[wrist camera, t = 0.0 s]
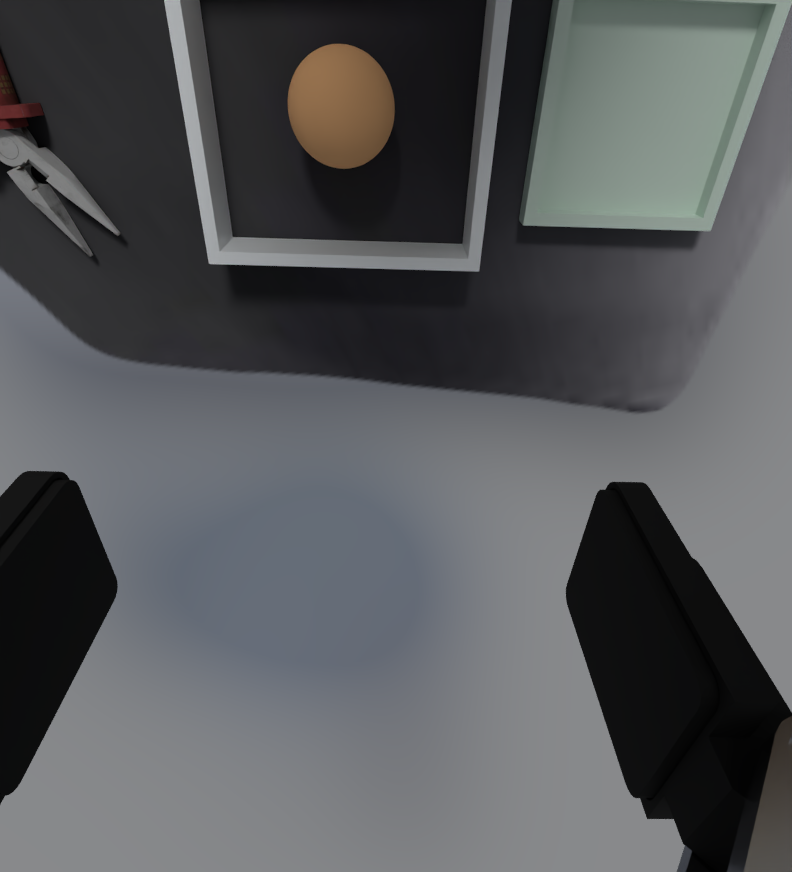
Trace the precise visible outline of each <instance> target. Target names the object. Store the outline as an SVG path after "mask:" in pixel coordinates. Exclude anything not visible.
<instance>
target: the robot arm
mask: <svg viewBox="0 0 792 872" xmlns="http://www.w3.org/2000/svg"><path fill="white" fill-rule="evenodd" d="M116 593H117V579H116V576H115V574H114V571H113V569H112V566H111V564H110V562H109V559H108V557H107V554H106V552H105V549H104V547H103V544H102V542H101V540H100V537H99V535H98V532H97V530H96V527H95V525H94V522H93V520H92V517H91V515H90V513H89V510H88V508H87V505H86V503H85V500H84V498H83V495H82V493H81V490H80V488H79V486H78V484H77V483H76V482H75V481H73V480H69V478H68V476H67V475H66V474H65V473H63V472H47V471H45V472H44V471H27V472H24V473H22V474H21V475H20V476H19V477H18V478H17V479H16V480H15V481H14V482H13V483H12V484H11V486H9V488H8V489H7V490H6V491H5V492H4V493H3V494H2V495H1V497H0V804H1V802H2V800H3V798H4V796H5V795H9V794H10V793H12V792H13V791H14V790H15V789H16V788H17V787H18V785H19V784H20V782H21V780H22V778H23V776H24V774H25V773H26V771H27V769H28V767H29V765H30V763H31V761H32V759H33V757H34V755H35V753H36V751H37V749H38V747H39V745H40V744H41V741H42V740H43V738H44V736H45V734H46V732H47V730H48V728H49V726H50V724H51V722H52V720H53V718H54V716H55V714H56V712H57V710H58V709H59V707H60V705H61V703H62V701H63V699H64V697H65V695H66V693H67V691H68V689H69V687H70V685H71V683H72V681H73V679H74V677H75V675H76V673H77V671H78V670H79V668H80V665H81V664H82V662H83V660H84V658H85V656H86V654H87V652H88V650H89V648H90V646H91V644H92V642H93V640H94V639H95V637H96V635H97V633H98V631H99V629H100V627H101V625H102V623H103V621H104V619H105V617H106V615H107V613H108V611H109V609H110V607H111V605H112V603H113V601H114V599H115V597H116ZM566 600H567V605H568V608H569V611H570V614H571V617H572V621H573V624H574V627H575V629H576V633H577V636H578V639H579V642H580V645H581V648H582V651H583V654H584V657H585V660H586V663H587V667H588V669H589V673H590V676H591V679H592V682H593V685H594V688H595V691H596V694H597V697H598V700H599V703H600V706H601V709H602V712H603V716H604V719H605V722H606V724H607V728H608V731H609V734H610V737H611V740H612V743H613V746H614V749H615V752H616V755H617V759H618V761H619V764H620V768H621V770H622V774H623V777H624V780H625V783H626V785H627V788H628V790H629V792H630V793H631V795H632V796H633V797H635V798H640V799H641V802H642V805H643V808H644V811H645V814H646V817H647V819H674V821H675V823H676V826H677V829H678V831H679V834H680V836H681V839H682V842H683V844H684V845H685V847H684V850H683V853H682V857H681V860H680V863H679V866H678V869H677V872H792V712H791V711H790V709H789V708H788V706H787V704H786V703H785V701H784V700H783V698H782V696H781V695H780V693H779V691H778V690H777V688H776V686H775V685H774V683H773V682H772V680H771V678H770V677H769V675H768V673H767V672H766V670H765V669H764V667H763V665H762V664H761V662H760V661H759V659H758V657H757V656H756V654H755V652H754V651H753V649H752V648H751V646H750V644H749V643H748V641H747V639H746V638H745V636H744V635H743V633H742V631H741V630H740V628H739V626H738V625H737V623H736V622H735V620H734V618H733V617H732V615H731V613H730V612H729V610H728V609H727V607H726V605H725V604H724V602H723V601H722V599H721V597H720V596H719V594H718V592H717V591H716V589H715V588H714V586H713V584H712V583H711V581H710V580H709V578H708V576H707V575H706V573H705V572H704V570H703V568H702V567H701V566H700V564H699V563H698V562H697V561H696V560H695V559H693V558H692V557H691V556H690V554H689V552H688V551H687V549H686V547H685V546H684V544H683V542H682V541H681V539H680V537H679V536H678V534H677V533H676V531H675V530H674V528H673V526H672V525H671V523H670V521H669V519H668V518H667V516H666V514H665V513H664V511H663V510H662V508H661V506H660V505H659V503H658V501H657V500H656V498H655V496H654V495H653V493H652V491H651V490H650V488H649V487H648V486H647V485H646V484H645V483H641V482H611V483H610V484H609V485H608V486H607V488H606V490H600V491H598V493H597V495H596V498H595V501H594V504H593V507H592V510H591V513H590V516H589V519H588V522H587V525H586V528H585V531H584V534H583V537H582V540H581V543H580V546H579V549H578V553H577V556H576V559H575V562H574V565H573V568H572V571H571V574H570V577H569V580H568V583H567V587H566Z"/></svg>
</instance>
